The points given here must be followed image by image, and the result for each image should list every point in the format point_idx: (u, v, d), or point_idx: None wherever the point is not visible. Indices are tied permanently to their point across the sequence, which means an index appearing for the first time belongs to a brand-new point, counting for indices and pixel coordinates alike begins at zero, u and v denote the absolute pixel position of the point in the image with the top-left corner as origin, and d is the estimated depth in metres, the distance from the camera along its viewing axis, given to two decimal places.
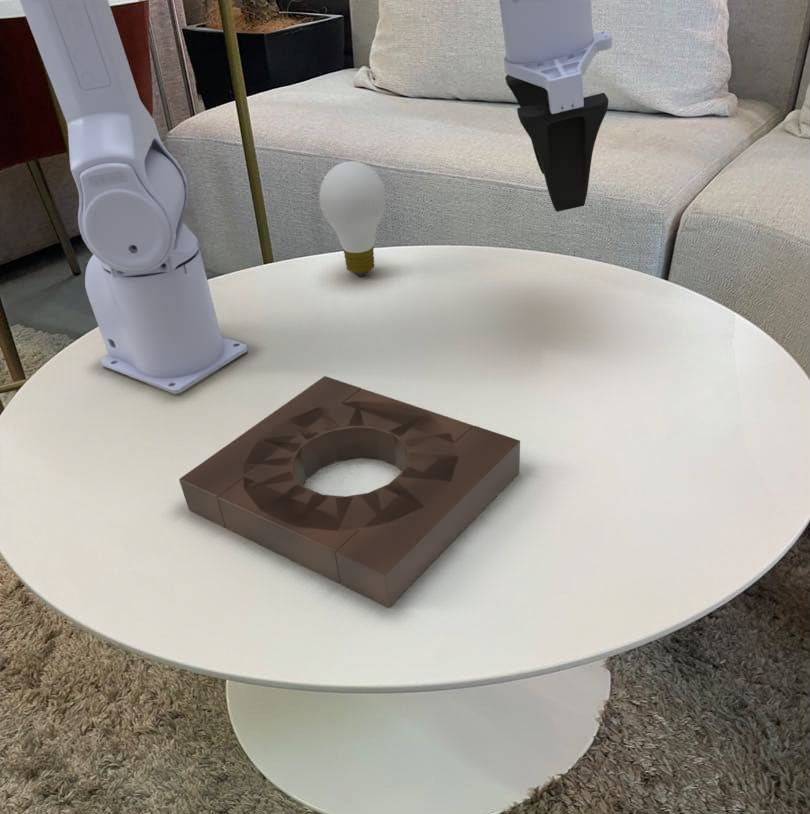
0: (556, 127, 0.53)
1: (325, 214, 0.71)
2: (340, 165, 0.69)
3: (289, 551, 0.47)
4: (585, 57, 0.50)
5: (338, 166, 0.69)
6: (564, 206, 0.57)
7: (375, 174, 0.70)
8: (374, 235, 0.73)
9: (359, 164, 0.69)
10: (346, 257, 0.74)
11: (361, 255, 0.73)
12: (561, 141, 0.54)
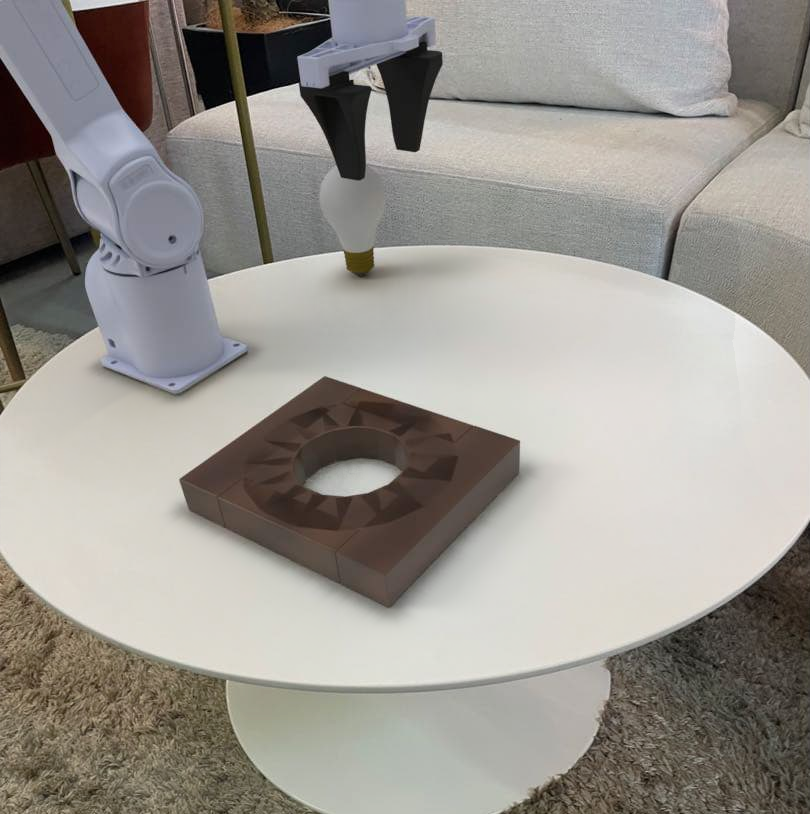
0: (335, 102, 0.61)
1: (325, 214, 0.71)
2: None
3: (289, 551, 0.47)
4: (354, 49, 0.58)
5: None
6: (345, 175, 0.65)
7: (375, 174, 0.70)
8: (374, 235, 0.73)
9: None
10: (346, 257, 0.74)
11: (361, 255, 0.73)
12: (339, 116, 0.62)
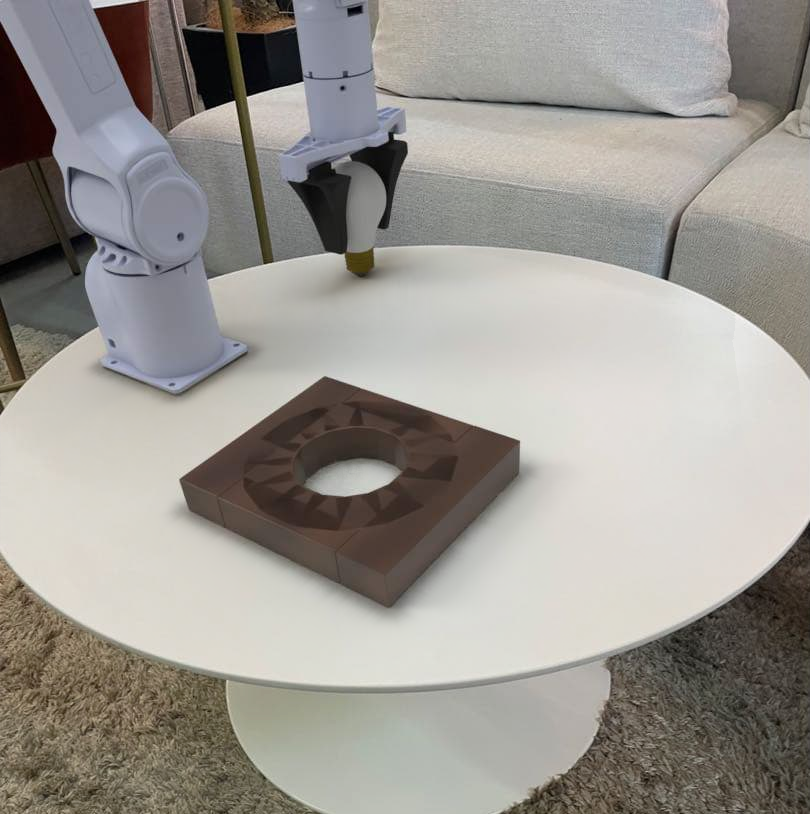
0: (319, 187, 0.68)
1: None
2: (340, 165, 0.69)
3: (289, 551, 0.47)
4: (329, 147, 0.64)
5: (338, 166, 0.69)
6: (329, 249, 0.72)
7: (375, 174, 0.70)
8: (374, 235, 0.73)
9: (359, 164, 0.69)
10: (346, 257, 0.74)
11: (361, 255, 0.73)
12: (322, 199, 0.69)
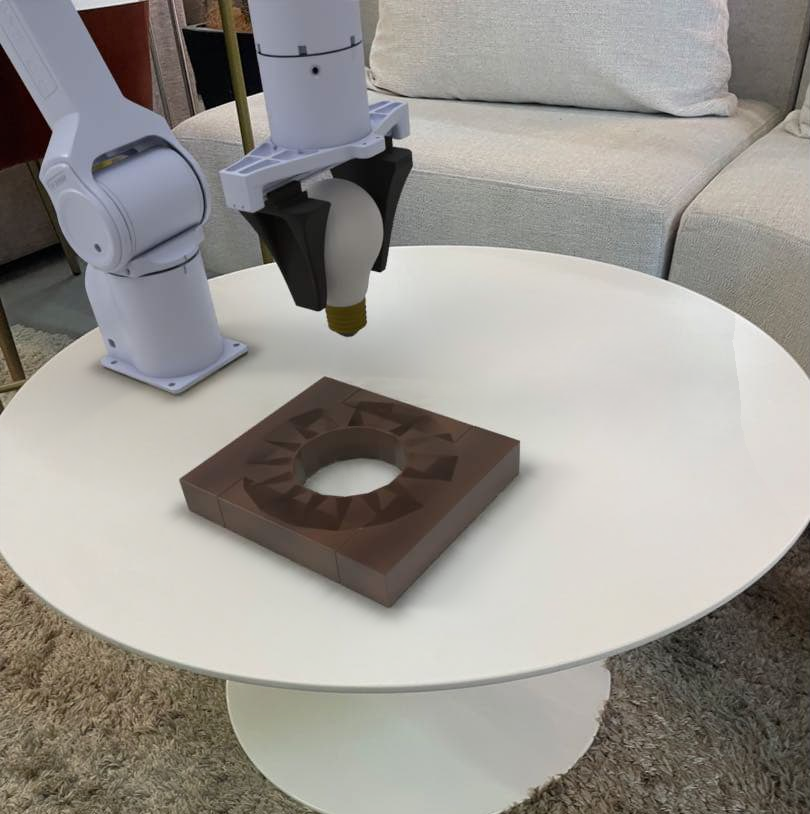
0: (284, 218, 0.47)
1: None
2: (317, 184, 0.48)
3: (289, 551, 0.47)
4: (297, 159, 0.43)
5: (314, 186, 0.48)
6: (301, 303, 0.50)
7: (367, 197, 0.48)
8: (366, 282, 0.51)
9: (344, 183, 0.48)
10: (327, 312, 0.53)
11: (348, 310, 0.52)
12: (290, 235, 0.47)
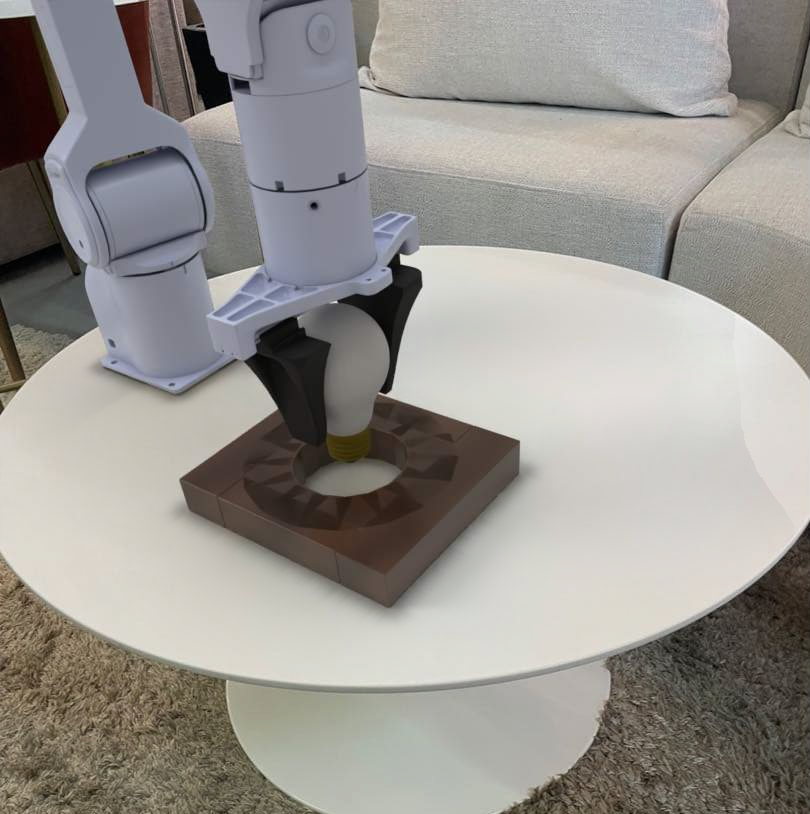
0: None
1: None
2: (316, 311, 0.43)
3: (289, 551, 0.47)
4: (293, 301, 0.38)
5: (313, 314, 0.43)
6: (299, 436, 0.46)
7: (372, 325, 0.44)
8: (371, 410, 0.47)
9: (346, 311, 0.43)
10: (328, 439, 0.48)
11: (350, 439, 0.47)
12: (286, 370, 0.42)
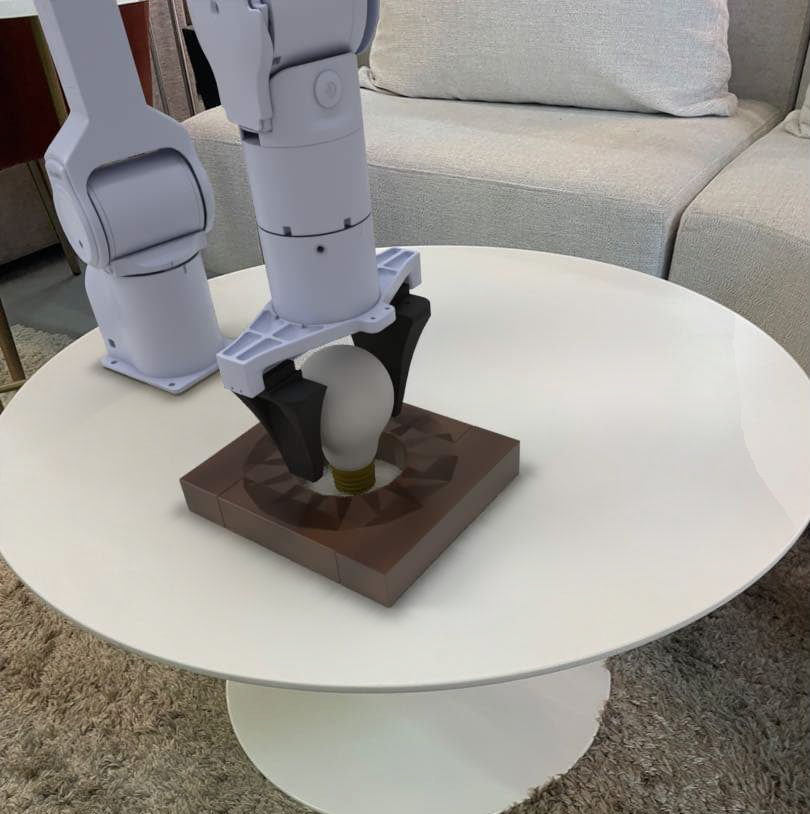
0: None
1: None
2: (323, 354, 0.45)
3: (289, 551, 0.47)
4: (300, 339, 0.40)
5: (320, 356, 0.45)
6: (296, 472, 0.47)
7: (377, 366, 0.45)
8: (376, 446, 0.48)
9: (352, 353, 0.45)
10: (334, 473, 0.50)
11: (356, 474, 0.49)
12: None
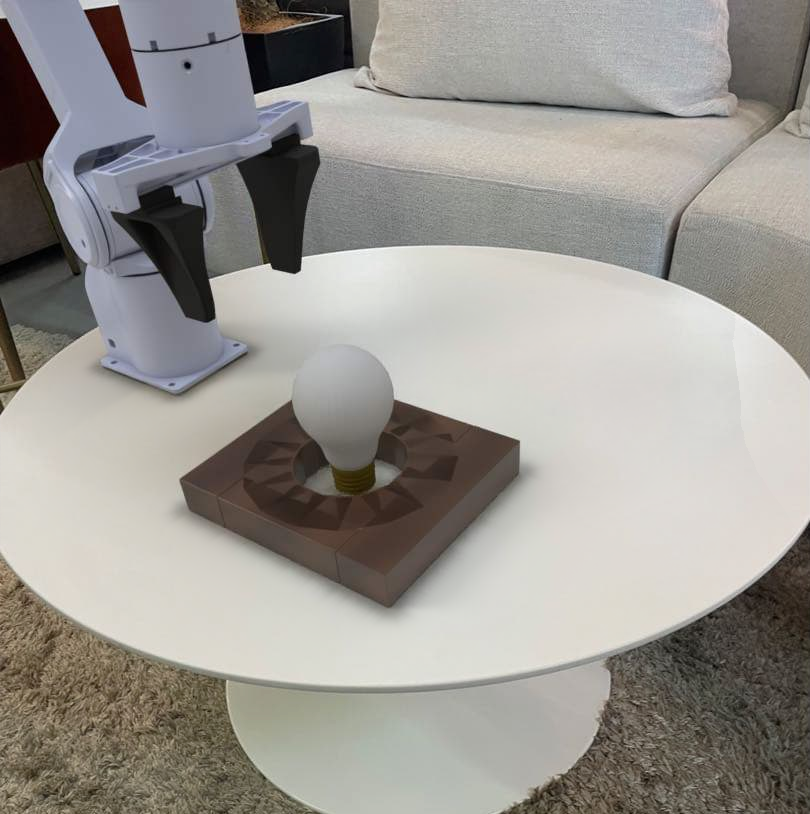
0: None
1: (301, 424, 0.46)
2: (323, 354, 0.45)
3: (289, 551, 0.47)
4: (173, 158, 0.41)
5: (320, 356, 0.45)
6: (190, 314, 0.48)
7: (377, 366, 0.45)
8: (376, 446, 0.48)
9: (352, 353, 0.45)
10: (334, 473, 0.50)
11: (356, 474, 0.49)
12: None
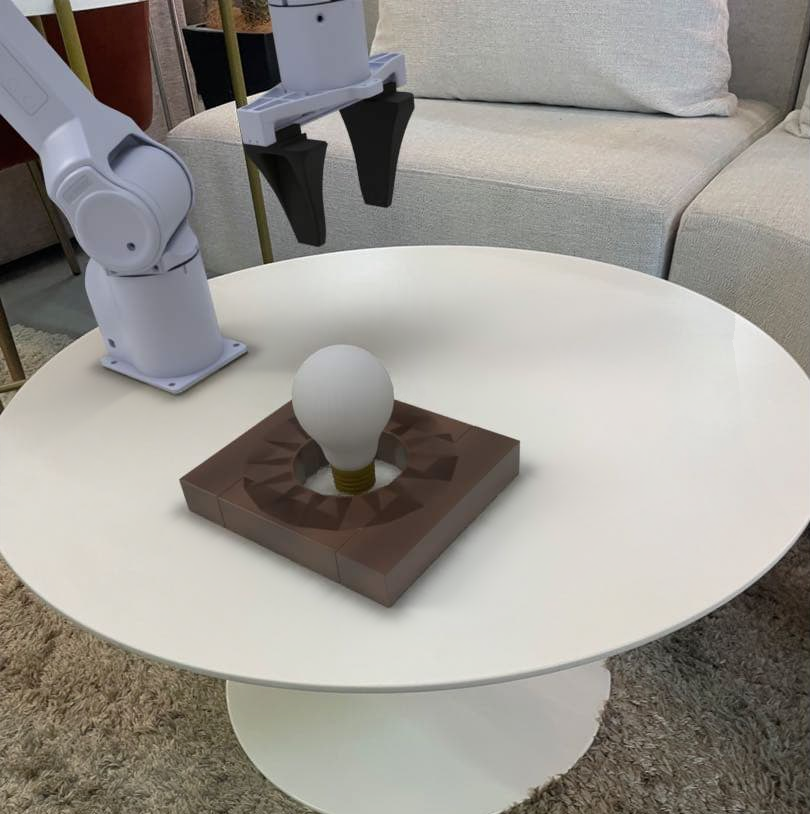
0: (286, 159, 0.52)
1: (301, 424, 0.46)
2: (323, 354, 0.45)
3: (289, 551, 0.47)
4: (304, 99, 0.49)
5: (320, 356, 0.45)
6: (303, 240, 0.55)
7: (377, 366, 0.45)
8: (376, 446, 0.48)
9: (352, 353, 0.45)
10: (334, 473, 0.50)
11: (356, 474, 0.49)
12: (291, 174, 0.52)
